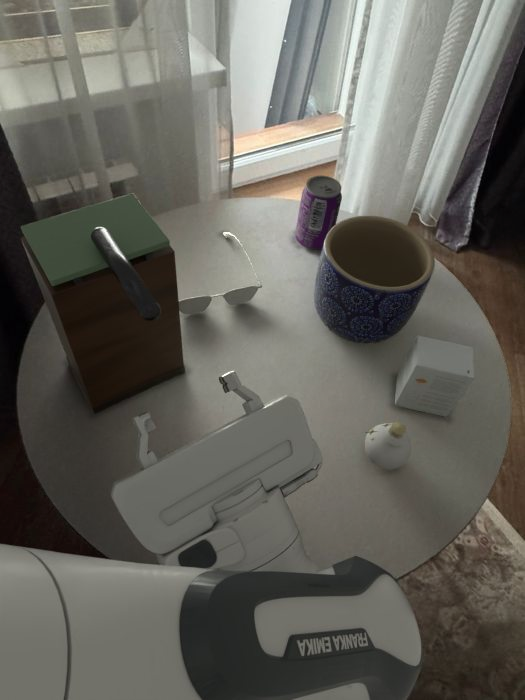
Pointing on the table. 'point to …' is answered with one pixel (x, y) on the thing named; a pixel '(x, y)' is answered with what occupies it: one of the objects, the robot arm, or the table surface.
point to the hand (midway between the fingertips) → (184, 393)
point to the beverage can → (318, 210)
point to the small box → (434, 376)
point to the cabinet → (116, 328)
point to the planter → (371, 277)
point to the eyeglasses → (230, 297)
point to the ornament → (388, 445)
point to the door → (100, 246)
